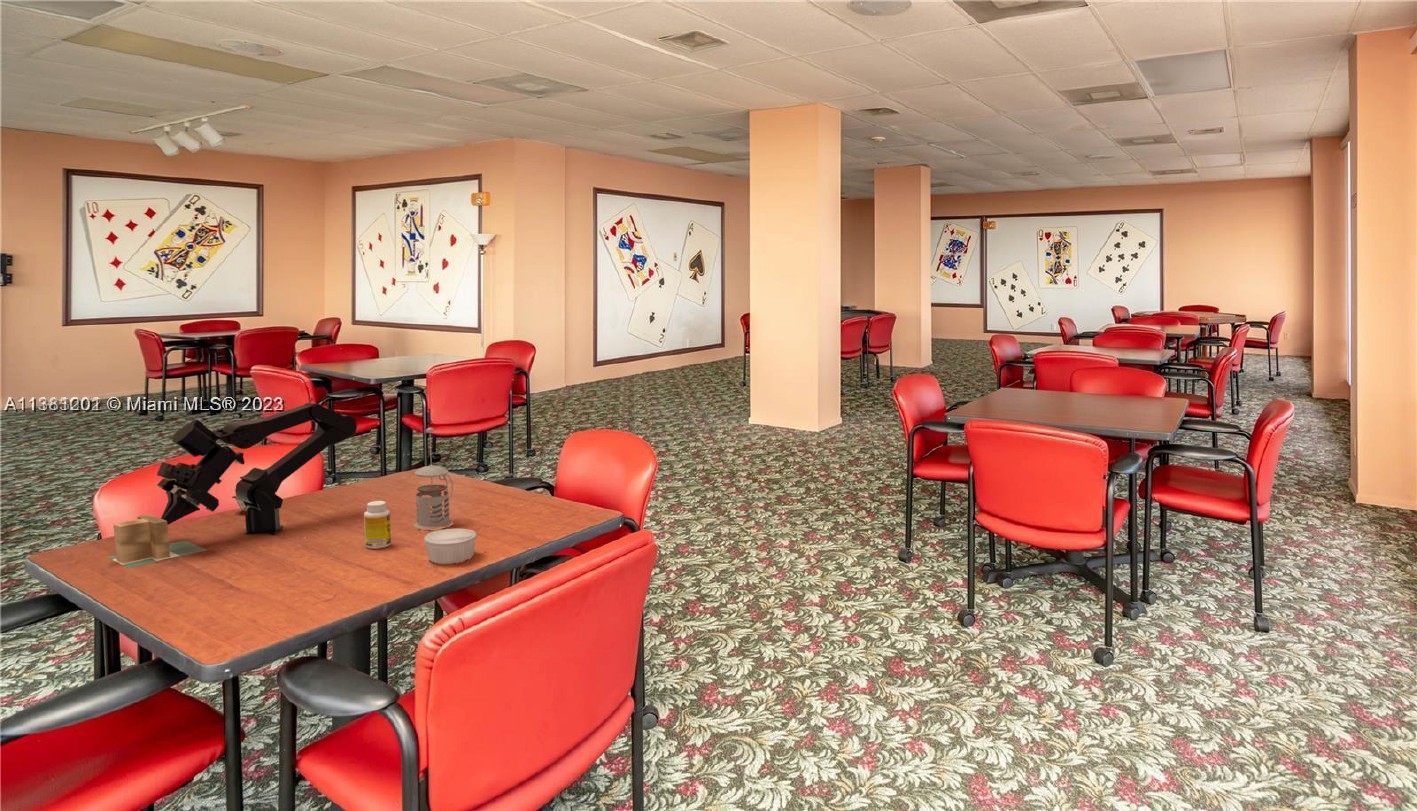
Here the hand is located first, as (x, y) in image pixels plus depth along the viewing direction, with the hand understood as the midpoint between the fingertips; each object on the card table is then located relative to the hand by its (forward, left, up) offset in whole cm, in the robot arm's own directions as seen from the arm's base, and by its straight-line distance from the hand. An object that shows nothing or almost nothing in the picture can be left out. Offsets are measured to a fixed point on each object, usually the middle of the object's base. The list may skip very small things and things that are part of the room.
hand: (160, 525), depth 185 cm
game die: (-6, -36, -7) cm, 37 cm away
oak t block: (+3, +3, -6) cm, 7 cm away
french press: (-56, -18, -7) cm, 59 cm away
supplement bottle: (-46, -1, -7) cm, 46 cm away
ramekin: (-64, +10, -7) cm, 65 cm away
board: (+1, +1, -7) cm, 7 cm away
